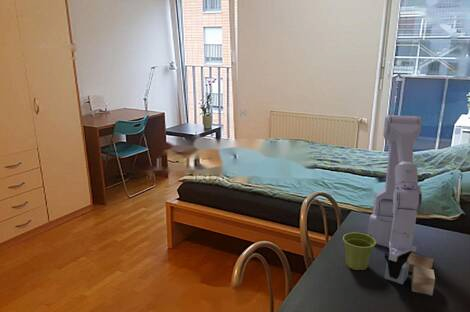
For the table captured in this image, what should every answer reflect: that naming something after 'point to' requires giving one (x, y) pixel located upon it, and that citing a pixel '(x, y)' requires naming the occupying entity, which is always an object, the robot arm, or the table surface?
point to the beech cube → (423, 280)
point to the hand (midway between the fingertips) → (396, 272)
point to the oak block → (419, 262)
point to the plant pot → (358, 250)
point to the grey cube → (402, 275)
